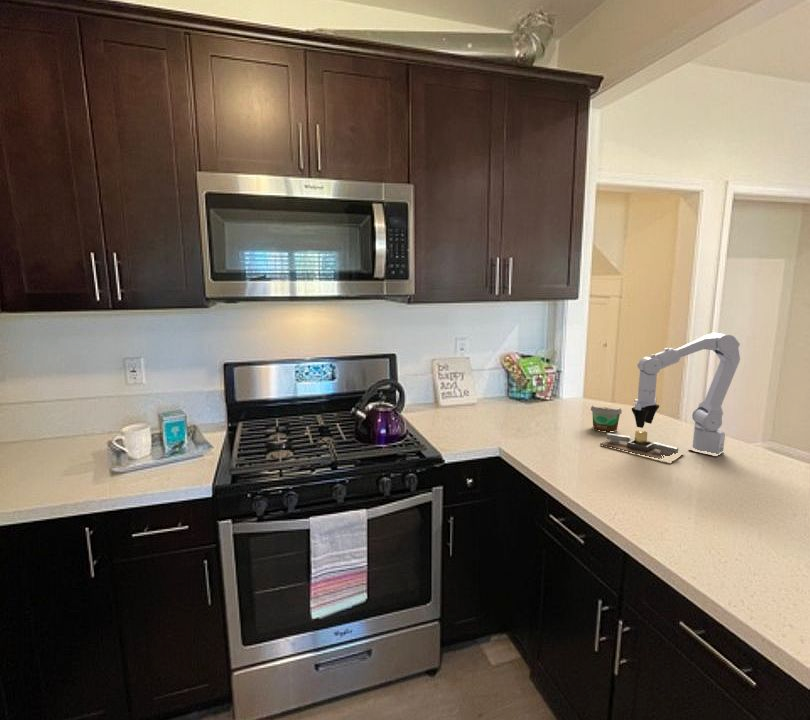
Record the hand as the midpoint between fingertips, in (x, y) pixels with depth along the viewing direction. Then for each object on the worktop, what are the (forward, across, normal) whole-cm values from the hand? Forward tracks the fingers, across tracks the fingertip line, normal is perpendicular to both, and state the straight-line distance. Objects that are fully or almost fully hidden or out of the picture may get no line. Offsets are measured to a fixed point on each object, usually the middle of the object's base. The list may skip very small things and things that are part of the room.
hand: (644, 425), depth 176 cm
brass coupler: (+8, +2, 0) cm, 9 cm away
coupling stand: (+9, +2, 0) cm, 10 cm away
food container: (+10, -10, -20) cm, 24 cm away
